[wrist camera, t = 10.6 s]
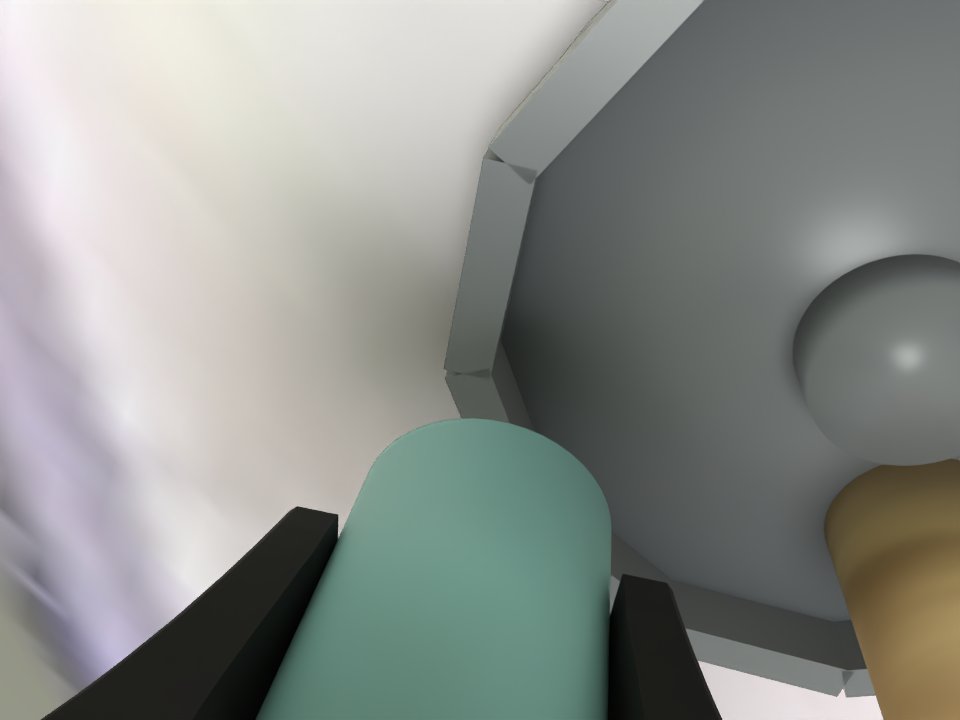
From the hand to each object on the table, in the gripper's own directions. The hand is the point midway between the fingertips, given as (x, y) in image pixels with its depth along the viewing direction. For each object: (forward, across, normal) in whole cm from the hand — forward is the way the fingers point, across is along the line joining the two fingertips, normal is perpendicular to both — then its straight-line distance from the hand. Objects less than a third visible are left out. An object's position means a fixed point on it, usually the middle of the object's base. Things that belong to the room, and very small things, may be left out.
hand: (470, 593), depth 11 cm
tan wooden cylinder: (+7, -10, +3) cm, 13 cm away
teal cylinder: (+2, 0, 0) cm, 2 cm away
